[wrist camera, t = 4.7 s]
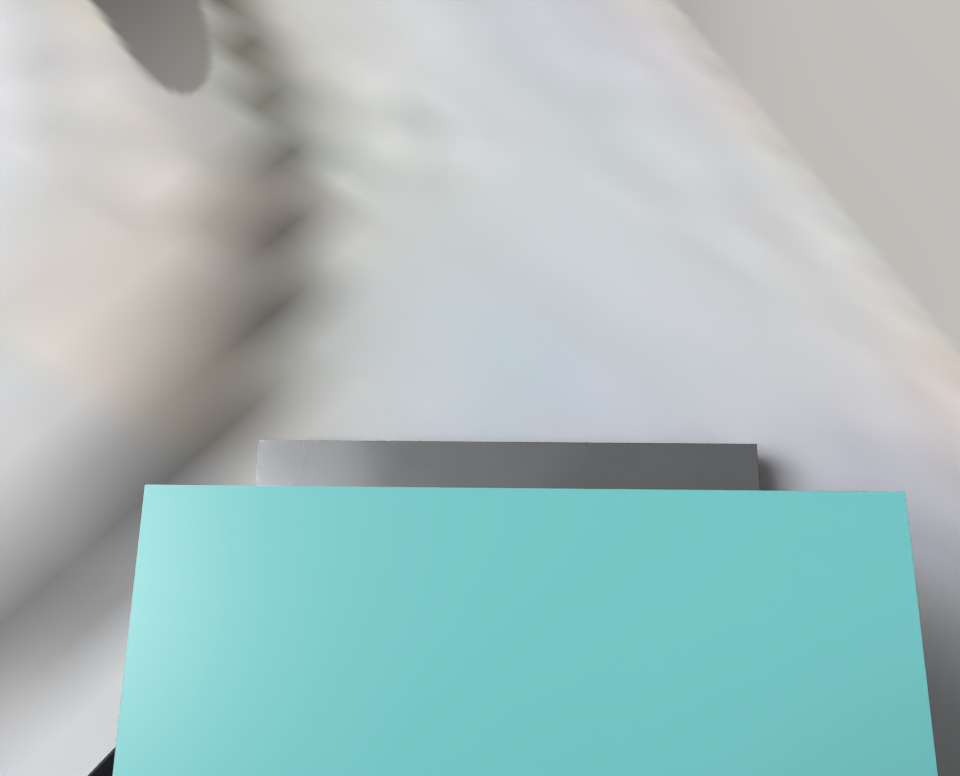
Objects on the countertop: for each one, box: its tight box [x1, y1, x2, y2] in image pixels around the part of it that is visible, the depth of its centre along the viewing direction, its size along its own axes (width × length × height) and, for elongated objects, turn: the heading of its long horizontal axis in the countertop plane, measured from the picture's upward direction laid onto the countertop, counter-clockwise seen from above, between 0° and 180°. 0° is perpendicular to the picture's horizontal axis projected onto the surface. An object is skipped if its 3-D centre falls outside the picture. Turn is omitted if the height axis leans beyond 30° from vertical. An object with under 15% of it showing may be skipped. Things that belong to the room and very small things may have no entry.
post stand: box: [255, 440, 760, 490], centre depth 13 cm, size 10×10×7 cm
